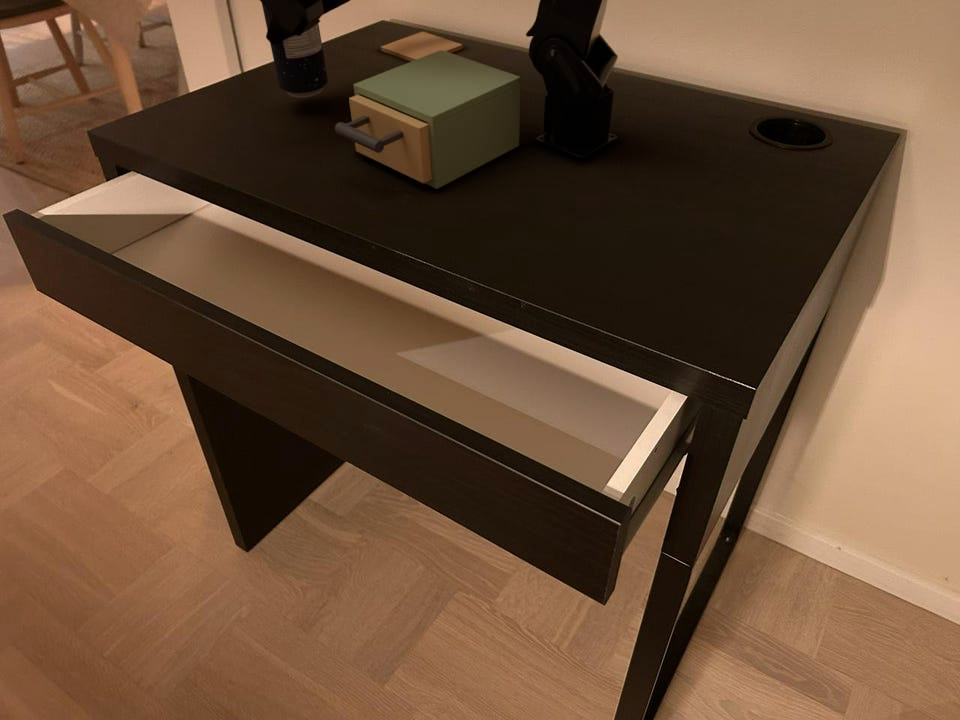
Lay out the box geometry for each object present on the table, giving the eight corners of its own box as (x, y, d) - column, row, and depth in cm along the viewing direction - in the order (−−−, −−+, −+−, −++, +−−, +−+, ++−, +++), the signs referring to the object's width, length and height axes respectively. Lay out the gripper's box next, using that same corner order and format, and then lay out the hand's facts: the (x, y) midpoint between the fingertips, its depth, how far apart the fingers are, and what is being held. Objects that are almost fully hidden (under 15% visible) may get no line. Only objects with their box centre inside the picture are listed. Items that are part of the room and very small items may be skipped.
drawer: (394, 198, 72) (389, 142, 68) (327, 164, 77) (318, 110, 73) (501, 143, 80) (501, 90, 76) (433, 115, 85) (430, 65, 81)
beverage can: (334, 81, 90) (316, -27, 82) (322, 100, 86) (302, -12, 78) (288, 80, 91) (267, -27, 83) (274, 99, 87) (250, -12, 78)
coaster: (462, 48, 103) (462, 44, 103) (420, 65, 99) (420, 61, 98) (423, 35, 107) (422, 31, 107) (380, 51, 103) (380, 46, 103)
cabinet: (436, 189, 75) (432, 116, 70) (361, 153, 81) (352, 84, 76) (519, 145, 82) (520, 76, 76) (444, 115, 87) (441, 49, 82)
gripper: (340, -160, 78) (270, -49, 88) (245, -126, 65) (176, -1, 75) (416, -71, 82) (340, 26, 92) (340, -22, 69) (261, 84, 79)
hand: (283, 31), depth 84 cm, fingers closed on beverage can, 5 cm apart
